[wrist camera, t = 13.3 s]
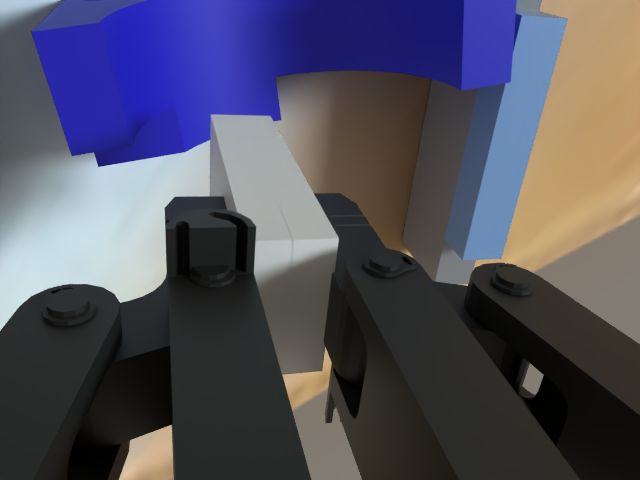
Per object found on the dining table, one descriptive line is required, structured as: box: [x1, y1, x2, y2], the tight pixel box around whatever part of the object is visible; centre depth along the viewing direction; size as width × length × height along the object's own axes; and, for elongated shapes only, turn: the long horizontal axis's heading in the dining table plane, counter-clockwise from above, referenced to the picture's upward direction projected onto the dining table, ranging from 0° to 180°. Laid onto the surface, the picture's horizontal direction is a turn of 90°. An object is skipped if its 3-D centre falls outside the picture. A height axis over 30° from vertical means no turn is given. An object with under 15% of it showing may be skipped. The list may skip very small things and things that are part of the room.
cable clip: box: [31, 0, 517, 167], centre depth 18 cm, size 12×4×6 cm, turn 95°
